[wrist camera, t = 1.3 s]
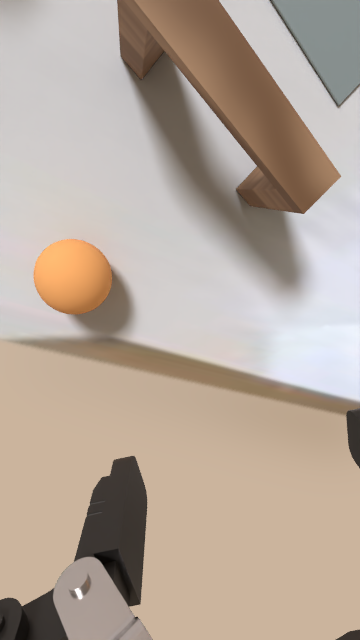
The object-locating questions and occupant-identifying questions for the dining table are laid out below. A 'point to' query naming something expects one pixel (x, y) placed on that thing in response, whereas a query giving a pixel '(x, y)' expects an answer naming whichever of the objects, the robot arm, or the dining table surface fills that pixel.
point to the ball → (72, 276)
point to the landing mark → (327, 39)
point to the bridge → (231, 95)
